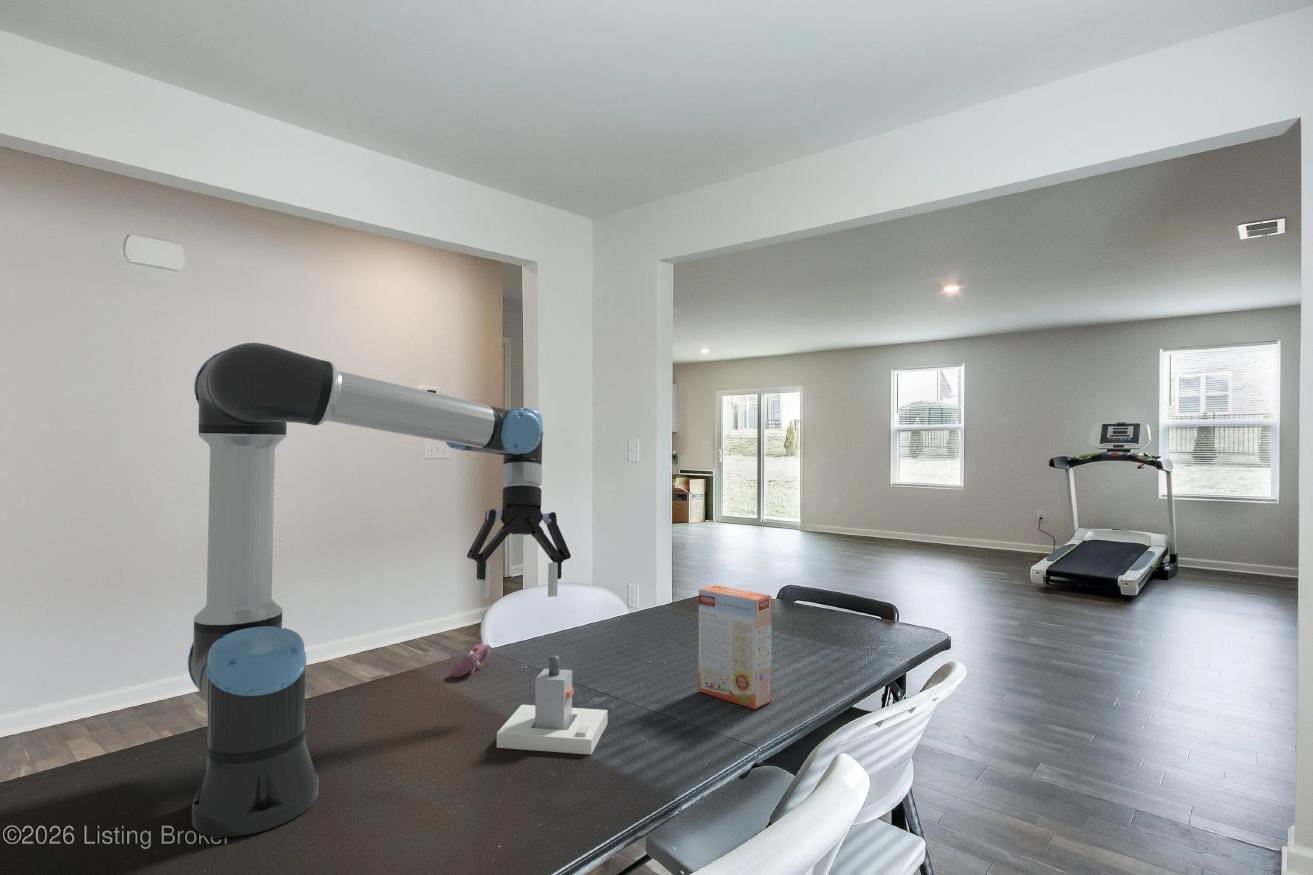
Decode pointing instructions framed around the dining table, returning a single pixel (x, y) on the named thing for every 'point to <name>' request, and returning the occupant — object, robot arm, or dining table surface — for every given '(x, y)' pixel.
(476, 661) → the video game controller
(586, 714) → the socket plate
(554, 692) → the plug
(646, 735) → the dining table surface
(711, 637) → the cracker box
